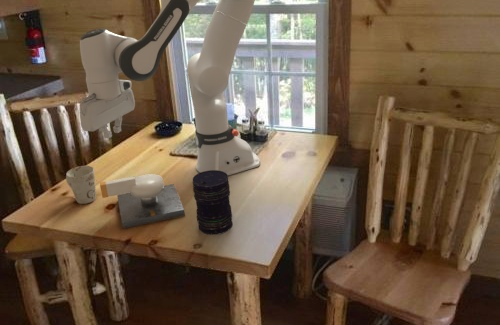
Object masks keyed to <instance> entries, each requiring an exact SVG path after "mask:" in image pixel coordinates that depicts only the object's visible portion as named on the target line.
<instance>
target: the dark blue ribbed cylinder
mask: <svg viewBox="0 0 500 325" xmlns="http://www.w3.org/2000/svg"><path fill="white" fill-rule="evenodd" d="M192 191H193V198H194V199H195V204H196V221H197V223H198V230H199V231H200V232H201V233H202V234H204V235H205V234H206V235H212V236H213V235H215V236H216V235H221V234H224V233H226V232H228V231H229V230H231V229H232V227H233V212H232V206H231V202H230V195H231V191H230V183H229V175H227V174H226V173H225V172H223V171H218V170H210V171H204V172H201V173H200V172H198V173H196V174H195V175H194V176H193V177H192Z"/></svg>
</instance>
